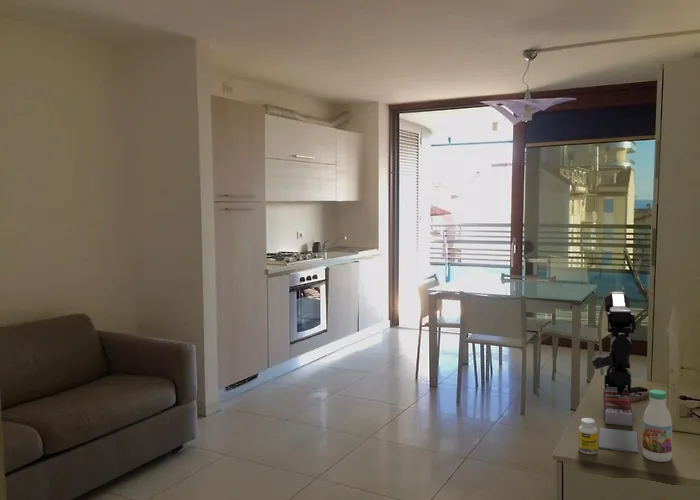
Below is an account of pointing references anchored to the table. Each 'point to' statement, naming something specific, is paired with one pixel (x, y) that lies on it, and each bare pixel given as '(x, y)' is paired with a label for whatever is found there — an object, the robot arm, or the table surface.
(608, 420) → the supplement box
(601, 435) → the mat
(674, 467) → the table surface
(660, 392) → the milk bottle
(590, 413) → the table surface
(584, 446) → the supplement bottle
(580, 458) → the table surface
